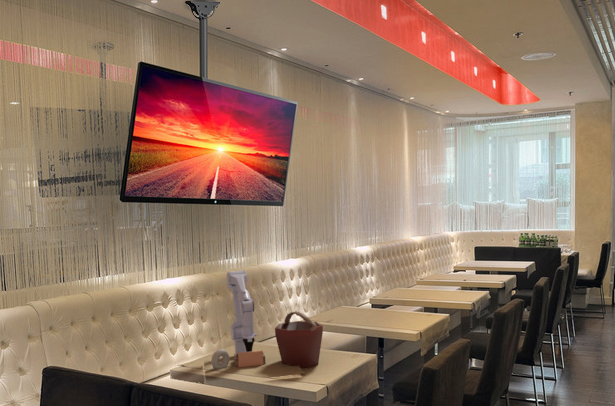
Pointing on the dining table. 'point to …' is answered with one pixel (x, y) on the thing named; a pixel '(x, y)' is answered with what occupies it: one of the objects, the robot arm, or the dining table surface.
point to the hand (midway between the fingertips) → (249, 353)
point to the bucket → (299, 341)
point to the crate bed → (238, 363)
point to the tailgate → (250, 358)
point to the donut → (216, 359)
